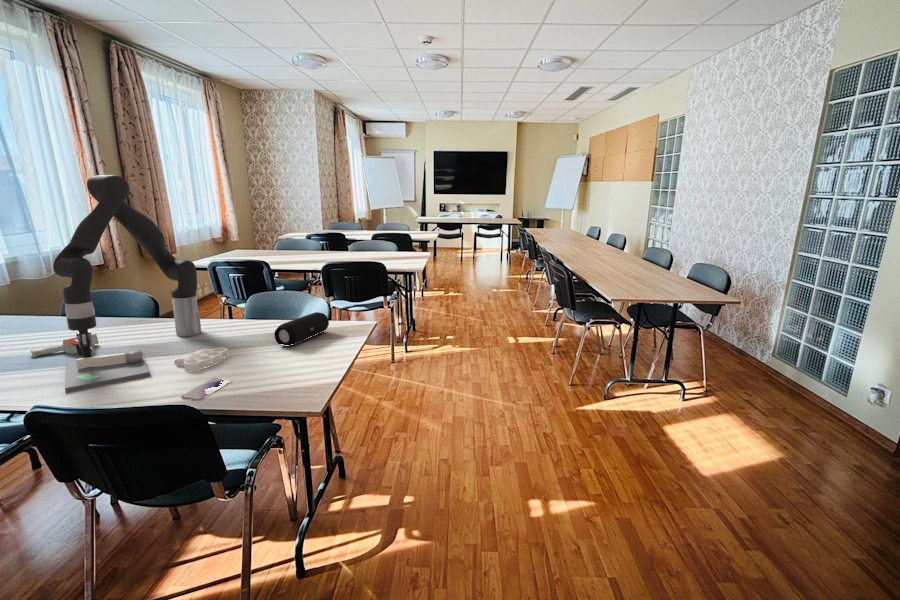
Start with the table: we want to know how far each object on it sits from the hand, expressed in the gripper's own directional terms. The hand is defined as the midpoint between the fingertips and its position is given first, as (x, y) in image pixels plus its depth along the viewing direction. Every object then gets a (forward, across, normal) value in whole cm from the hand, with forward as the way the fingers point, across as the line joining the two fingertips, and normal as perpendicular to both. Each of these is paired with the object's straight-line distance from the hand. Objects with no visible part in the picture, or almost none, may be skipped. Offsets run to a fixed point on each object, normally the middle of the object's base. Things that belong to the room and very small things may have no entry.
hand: (88, 361), depth 153 cm
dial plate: (+3, -5, -5) cm, 8 cm away
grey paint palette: (+3, -15, -33) cm, 37 cm away
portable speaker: (+2, -10, -73) cm, 74 cm away
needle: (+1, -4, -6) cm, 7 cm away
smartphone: (+3, -42, -29) cm, 51 cm away
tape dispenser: (+4, +26, +5) cm, 26 cm away
